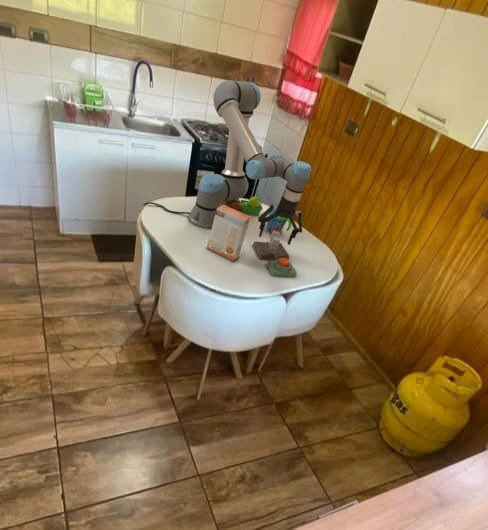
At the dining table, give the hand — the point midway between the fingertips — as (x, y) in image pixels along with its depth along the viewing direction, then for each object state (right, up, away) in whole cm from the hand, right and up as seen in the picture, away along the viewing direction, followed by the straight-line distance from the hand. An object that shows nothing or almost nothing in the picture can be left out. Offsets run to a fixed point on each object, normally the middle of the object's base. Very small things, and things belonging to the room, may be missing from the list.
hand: (274, 239), depth 174 cm
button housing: (+1, -14, -6) cm, 16 cm away
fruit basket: (-6, +17, +35) cm, 39 cm away
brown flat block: (-1, -6, +4) cm, 8 cm away
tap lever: (-1, -4, +3) cm, 5 cm away
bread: (-19, +18, +32) cm, 42 cm away
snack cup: (+5, +6, +23) cm, 25 cm away
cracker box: (-24, -6, -3) cm, 25 cm away
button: (+2, -11, -9) cm, 14 cm away
